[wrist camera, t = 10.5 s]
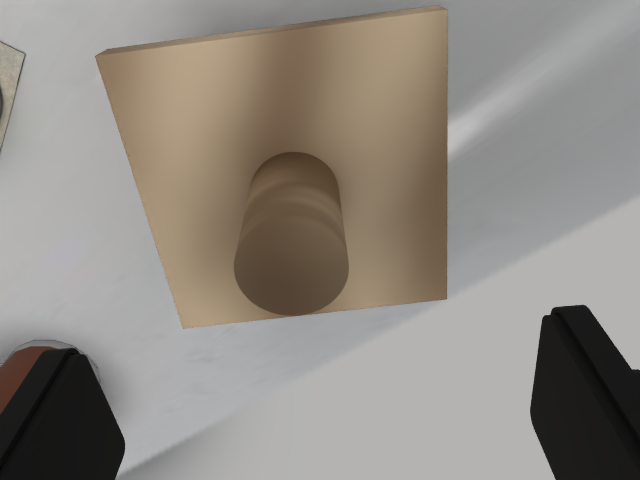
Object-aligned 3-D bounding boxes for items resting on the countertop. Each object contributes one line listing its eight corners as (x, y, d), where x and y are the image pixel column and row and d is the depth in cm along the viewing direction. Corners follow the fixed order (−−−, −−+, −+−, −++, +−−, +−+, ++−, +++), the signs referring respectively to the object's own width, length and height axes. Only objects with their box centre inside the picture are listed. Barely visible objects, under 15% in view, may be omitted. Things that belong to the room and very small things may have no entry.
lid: (439, 4, 17) (500, 35, 12) (440, 282, 22) (483, 390, 17) (107, 48, 17) (19, 98, 12) (188, 310, 23) (152, 425, 18)
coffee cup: (-30, 386, 38) (-155, 554, 28) (13, 303, 35) (-112, 460, 24) (89, 433, 41) (16, 601, 31) (140, 360, 37) (77, 523, 27)
